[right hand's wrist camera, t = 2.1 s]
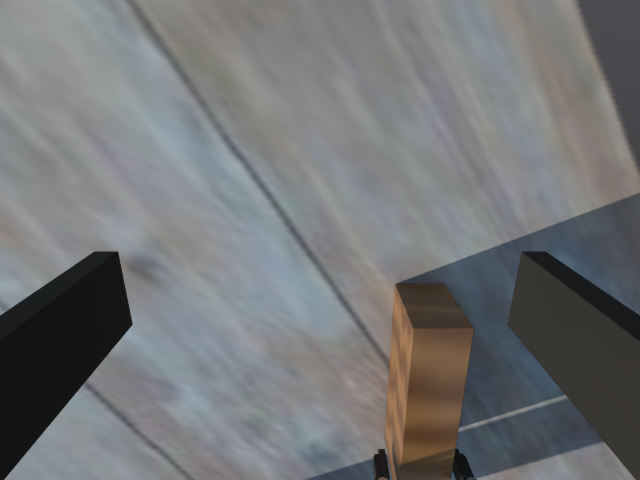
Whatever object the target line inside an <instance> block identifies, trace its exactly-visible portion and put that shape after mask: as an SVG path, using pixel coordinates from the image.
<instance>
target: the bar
mask: <svg viewBox="0 0 640 480" xmlns="http://www.w3.org/2000/svg"><path fill="white" fill-rule="evenodd" d="M473 332H474V327H473V326H472V324H471V323H470V321H469V320H468V318H467V317H466V315H465V314H464V312H463V311H462V309H461V308H460V306H459V305H458V304H457V302H456V301H455V299H454V298H453V296H452V295H451V293H450V292H449V290H448V289H447V287H446V286H445V284H395V293H394V308H393V323H392V338H391V352H390V367H389V382H388V397H387V412H386V427H385V443H386V449H387V454H388V459H389V464H390V470H391V475H392V480H451V474H452V468H453V461H454V455H455V448H456V442H457V435H458V429H459V422H460V416H461V410H462V403H463V397H464V390H465V384H466V377H467V371H468V364H469V358H470V351H471V345H472V338H473Z"/></svg>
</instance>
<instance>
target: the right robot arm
mask: <svg viewBox="0 0 640 480" xmlns="http://www.w3.org/2000/svg"><path fill="white" fill-rule="evenodd" d="M132 325H133V324H132V319H131V314H130V309H129V304H128V299H127V294H126V289H125V284H124V279H123V274H122V269H121V264H120V259H119V254H118V252H93V253H92V254H90V255H89V256H87V257H86V258H84V259H83V260H81V261H80V262H78V263H77V264H75V265H74V266H73V267H71V268H70V269H68V270H67V271H65V272H64V273H62V274H61V275H59V276H58V277H56V278H55V279H53V280H52V281H50V282H49V283H48V284H46V285H45V286H43V287H42V288H40V289H39V290H37V291H36V292H34V293H33V294H31V295H30V296H28V297H27V298H25V299H24V300H23V301H21V302H20V303H18V304H17V305H15V306H14V307H12V308H11V309H9V310H8V311H6V312H5V313H3V314H2V315H0V480H4V479H5V478H6V477H7V476H8V474H9V473H10V472H11V471H12V469H13V468H14V467H15V466H16V465H17V463H18V462H19V461H20V460H21V459H22V457H23V456H24V455H25V454H26V453H27V451H28V450H29V449H30V448H31V447H32V445H33V444H34V443H35V442H36V441H37V439H38V438H39V437H40V436H41V434H42V433H43V432H44V431H45V430H46V428H47V427H48V426H49V425H50V424H51V422H52V421H53V420H54V419H55V418H56V416H57V415H58V414H59V413H60V412H61V410H62V409H63V408H64V407H65V406H66V404H67V403H68V402H69V401H70V399H71V398H72V397H73V396H74V395H75V393H76V392H77V391H78V390H79V389H80V387H81V386H82V385H83V384H84V383H85V381H86V380H87V379H88V378H89V377H90V375H91V374H92V373H93V372H94V371H95V369H96V368H97V367H98V366H99V365H100V363H101V362H102V361H103V360H104V358H105V357H106V356H107V355H108V354H109V352H110V351H111V350H112V349H113V348H114V346H115V345H116V344H117V343H118V342H119V340H120V339H121V338H122V337H123V336H124V334H125V333H126V332H127V331H128V330H129V328H130V327H131V326H132ZM507 325H508V326H509V327H510V328H511V330H512V331H513V332H514V333H515V334H516V336H517V337H518V338H519V339H520V340H521V342H522V343H523V344H524V345H525V346H526V348H527V349H528V350H529V351H530V352H531V354H532V355H533V356H534V357H535V358H536V360H537V361H538V362H539V363H540V365H541V366H542V367H543V368H544V369H545V371H546V372H547V373H548V374H549V375H550V377H551V378H552V379H553V380H554V381H555V383H556V384H557V385H558V386H559V387H560V389H561V390H562V391H563V392H564V393H565V395H566V396H567V397H568V398H569V399H570V401H571V402H572V403H573V404H574V406H575V407H576V408H577V409H578V410H579V412H580V413H581V414H582V415H583V416H584V418H585V419H586V420H587V421H588V422H589V424H590V425H591V426H592V427H593V428H594V430H595V431H596V432H597V433H598V434H599V436H600V437H601V438H602V439H603V441H604V442H605V443H606V444H607V445H608V447H609V448H610V449H611V450H612V451H613V453H614V454H615V455H616V456H617V457H618V459H619V460H620V461H621V462H622V463H623V465H624V466H625V467H626V468H627V469H628V471H629V472H630V473H631V474H632V476H633V477H634V478H635V479H636V480H640V315H638V314H637V313H635V312H634V311H632V310H631V309H629V308H628V307H626V306H625V305H623V304H622V303H620V302H619V301H617V300H616V299H615V298H613V297H612V296H610V295H609V294H607V293H606V292H604V291H603V290H601V289H600V288H598V287H597V286H595V285H594V284H592V283H591V282H590V281H588V280H587V279H585V278H584V277H582V276H581V275H579V274H578V273H576V272H575V271H573V270H572V269H570V268H569V267H567V266H566V265H565V264H563V263H562V262H560V261H559V260H557V259H556V258H554V257H553V256H551V255H550V254H548V253H547V252H522V254H521V259H520V264H519V269H518V274H517V279H516V284H515V289H514V294H513V299H512V304H511V309H510V314H509V319H508V324H507Z"/></svg>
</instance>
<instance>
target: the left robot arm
mask: <svg viewBox="0 0 640 480" xmlns="http://www.w3.org/2000/svg"><path fill="white" fill-rule="evenodd" d="M452 470H453V473H454V476H455V479H456V480H477V479H475V478H474V476H473V473H472V471H471V468H470V466H469V463H468V461H467V458H466V457H465V456H464V454H460V453H459V450H458V449H455V455H454V461H453V468H452ZM373 471H374V478H375V480H389V479H390V476H389V470H388V465H387V459H386V454H385V449H378V454H375V455H374V458H373Z"/></svg>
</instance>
